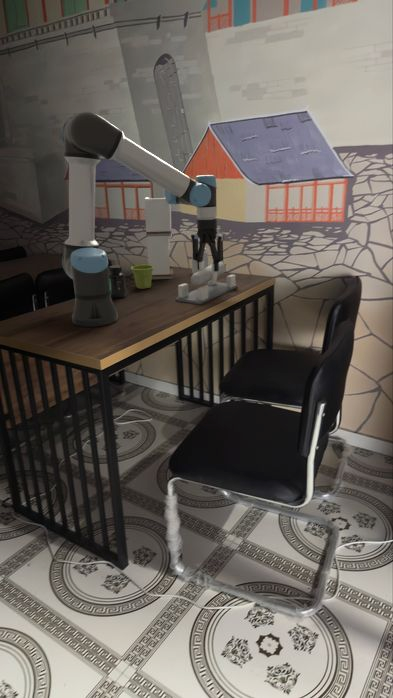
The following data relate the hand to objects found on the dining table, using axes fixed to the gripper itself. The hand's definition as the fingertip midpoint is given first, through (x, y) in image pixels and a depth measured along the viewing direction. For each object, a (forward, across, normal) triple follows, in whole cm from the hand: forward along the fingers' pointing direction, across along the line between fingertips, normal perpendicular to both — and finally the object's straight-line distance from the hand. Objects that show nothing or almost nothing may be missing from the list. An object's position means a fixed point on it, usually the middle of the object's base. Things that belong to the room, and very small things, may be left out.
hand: (208, 278), depth 196 cm
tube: (+1, 0, 0) cm, 1 cm away
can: (+6, +22, -30) cm, 38 cm away
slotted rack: (+6, 0, 0) cm, 6 cm away
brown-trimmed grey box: (+6, +36, -17) cm, 40 cm away
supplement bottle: (+6, +30, +20) cm, 37 cm away
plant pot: (+6, +30, +3) cm, 31 cm away
